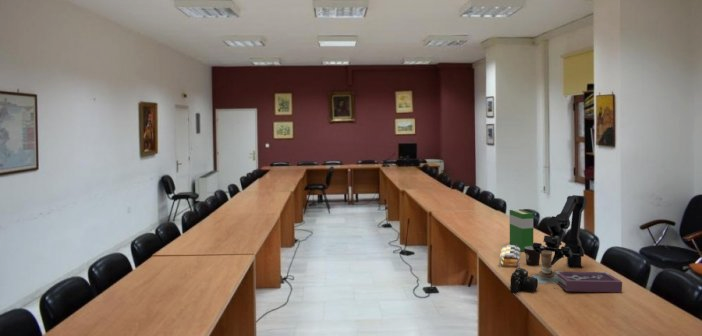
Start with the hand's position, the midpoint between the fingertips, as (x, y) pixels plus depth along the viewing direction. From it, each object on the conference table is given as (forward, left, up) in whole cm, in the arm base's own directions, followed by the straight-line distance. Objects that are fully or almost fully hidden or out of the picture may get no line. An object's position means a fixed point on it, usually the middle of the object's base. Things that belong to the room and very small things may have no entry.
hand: (547, 263), depth 254 cm
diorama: (+14, -35, -9) cm, 38 cm away
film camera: (+13, +15, -9) cm, 22 cm away
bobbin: (0, -1, -6) cm, 6 cm away
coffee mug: (+2, -31, -9) cm, 32 cm away
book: (-17, +8, -9) cm, 20 cm away
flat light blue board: (-1, -1, -9) cm, 9 cm away
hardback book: (+3, -69, -9) cm, 70 cm away
